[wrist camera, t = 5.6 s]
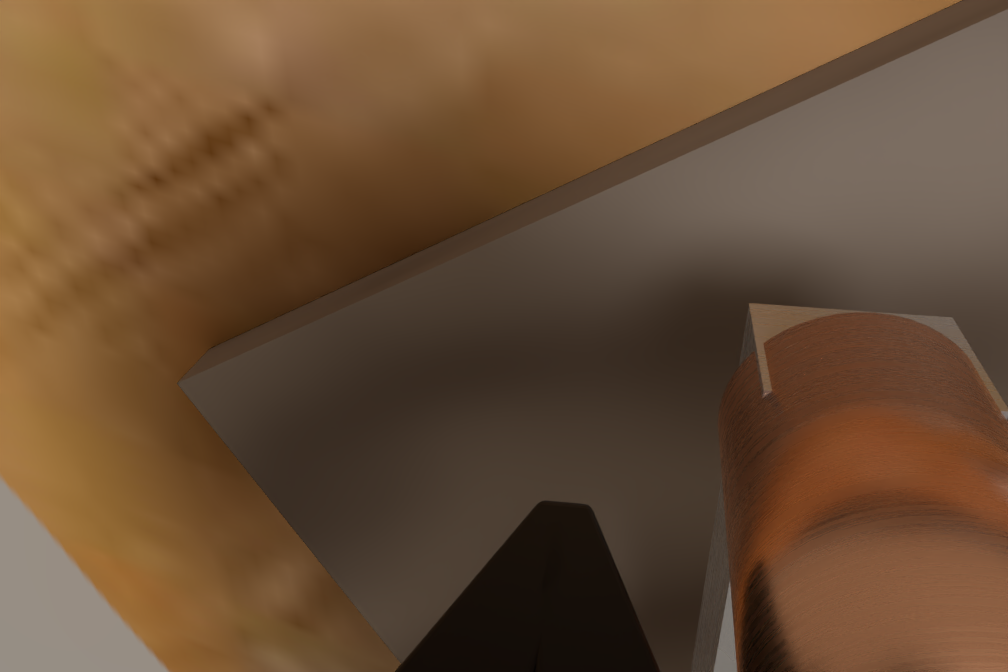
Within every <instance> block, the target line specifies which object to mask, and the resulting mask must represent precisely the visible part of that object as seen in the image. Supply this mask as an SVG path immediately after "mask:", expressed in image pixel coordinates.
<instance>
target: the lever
mask: <svg viewBox="0 0 1008 672" xmlns="http://www.w3.org/2000/svg"><path fill="white" fill-rule="evenodd" d="M1007 418H1008V408H1007V406H1006V405H1005V403H1004V401H1003V400H1002V398H1001V396H1000V395H999V393H998V391H997V390H996V388H995V386H994V385H993V383H992V382H991V380H990V378H989V377H988V375H987V373H986V372H985V370H984V368H983V367H982V365H981V363H980V362H979V360H978V358H977V357H976V355H975V354H974V352H973V350H972V349H971V347H970V345H969V344H968V342H967V340H966V339H965V337H964V335H963V334H962V332H961V331H960V329H959V327H958V326H957V324H956V322H955V321H954V319H953V318H952V317H938V316H924V315H910V314H896V313H882V312H868V311H854V310H840V309H826V308H812V307H798V306H784V305H769V304H755V303H749V306H748V312H747V318H746V325H745V331H744V337H743V344H742V350H741V356H740V363H739V367H738V369H737V370H736V371H735V372H734V374H733V376H732V377H731V379H730V381H729V382H728V384H727V386H726V389H725V391H724V394H723V396H722V399H721V403H720V407H719V413H718V434H719V447H720V459H721V472H722V477H721V483H720V490H719V496H718V502H717V509H716V515H715V521H714V528H713V534H712V541H711V547H710V553H709V560H708V566H707V572H706V579H705V585H704V591H703V598H702V604H701V610H700V617H699V623H698V629H697V636H696V642H695V648H694V655H693V661H692V668H691V672H1008V421H1007Z"/></svg>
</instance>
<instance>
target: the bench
mask: <svg viewBox="0 0 1008 672" xmlns="http://www.w3.org/2000/svg"><path fill="white" fill-rule="evenodd" d="M749 303H755V304H769V305H784V306H798V307H812V308H826V309H840V310H854V311H868V312H882V313H896V314H910V315H924V316H938V317H952V318H953V319H954V321H955V322H956V324H957V326H958V327H959V329H960V331H961V332H962V334H963V335H964V337H965V339H966V340H967V342H968V344H969V345H970V347H971V349H972V350H973V352H974V354H975V355H976V357H977V358H978V360H979V362H980V363H981V365H982V367H983V368H984V370H985V372H986V373H987V375H988V377H989V378H990V380H991V382H992V383H993V385H994V386H995V388H996V390H997V391H998V393H999V395H1000V396H1001V398H1002V400H1003V401H1004V403H1005V405H1006V406H1007V408H1008V0H963V1H961V2H958V3H956V4H954V5H952V6H950V7H948V8H945V9H943V10H941V11H939V12H937V13H935V14H932V15H930V16H928V17H926V18H924V19H922V20H920V21H917V22H915V23H913V24H911V25H909V26H907V27H904V28H902V29H900V30H898V31H896V32H894V33H891V34H889V35H887V36H885V37H883V38H881V39H878V40H876V41H874V42H872V43H870V44H868V45H865V46H863V47H861V48H859V49H857V50H855V51H852V52H850V53H848V54H846V55H844V56H842V57H840V58H837V59H835V60H833V61H831V62H829V63H827V64H824V65H822V66H820V67H818V68H816V69H814V70H811V71H809V72H807V73H805V74H803V75H801V76H798V77H796V78H794V79H792V80H790V81H788V82H785V83H783V84H781V85H779V86H777V87H775V88H773V89H770V90H768V91H766V92H764V93H762V94H760V95H757V96H755V97H753V98H751V99H749V100H747V101H744V102H742V103H740V104H738V105H736V106H734V107H731V108H729V109H727V110H725V111H723V112H721V113H718V114H716V115H714V116H712V117H710V118H708V119H706V120H703V121H701V122H699V123H697V124H695V125H693V126H690V127H688V128H686V129H684V130H682V131H680V132H677V133H675V134H673V135H671V136H669V137H667V138H664V139H662V140H660V141H658V142H656V143H654V144H651V145H649V146H647V147H645V148H643V149H641V150H639V151H636V152H634V153H632V154H630V155H628V156H626V157H623V158H621V159H619V160H617V161H615V162H613V163H610V164H608V165H606V166H604V167H602V168H600V169H597V170H595V171H593V172H591V173H589V174H587V175H584V176H582V177H580V178H578V179H576V180H574V181H572V182H569V183H567V184H565V185H563V186H561V187H559V188H556V189H554V190H552V191H550V192H548V193H546V194H543V195H541V196H539V197H537V198H535V199H533V200H530V201H528V202H526V203H524V204H522V205H520V206H517V207H515V208H513V209H511V210H509V211H507V212H505V213H502V214H500V215H498V216H496V217H494V218H492V219H489V220H487V221H485V222H483V223H481V224H479V225H476V226H474V227H472V228H470V229H468V230H466V231H463V232H461V233H459V234H457V235H455V236H453V237H450V238H448V239H446V240H444V241H442V242H440V243H438V244H435V245H433V246H431V247H429V248H427V249H425V250H422V251H420V252H418V253H416V254H414V255H412V256H409V257H407V258H405V259H403V260H401V261H399V262H396V263H394V264H392V265H390V266H388V267H386V268H383V269H381V270H379V271H377V272H375V273H373V274H371V275H368V276H366V277H364V278H362V279H360V280H358V281H355V282H353V283H351V284H349V285H347V286H345V287H342V288H340V289H338V290H336V291H334V292H332V293H329V294H327V295H325V296H323V297H321V298H319V299H316V300H314V301H312V302H310V303H308V304H306V305H304V306H301V307H299V308H297V309H295V310H293V311H291V312H288V313H286V314H284V315H282V316H280V317H278V318H275V319H273V320H271V321H269V322H267V323H265V324H262V325H260V326H258V327H256V328H254V329H252V330H249V331H247V332H245V333H243V334H241V335H239V336H237V337H234V338H232V339H230V340H228V341H226V342H224V343H221V344H219V345H217V346H215V347H213V348H211V349H209V350H208V351H207V352H206V353H205V354H204V355H203V356H202V357H201V358H200V359H199V360H198V361H197V363H196V364H195V365H194V366H193V367H192V368H191V369H190V370H189V371H188V372H187V373H186V374H185V375H184V376H183V377H182V378H181V379H180V381H179V382H178V383H177V384H178V385H179V387H180V388H181V389H182V390H183V392H184V393H185V394H186V395H187V397H188V398H189V399H190V400H191V402H192V403H193V404H194V405H195V407H196V408H197V409H198V410H199V412H200V413H201V414H202V415H203V417H204V418H205V419H206V420H207V422H208V423H209V424H210V425H211V427H212V428H213V429H214V430H215V432H216V433H217V434H218V435H219V437H220V438H221V439H222V440H223V442H224V443H225V444H226V445H227V447H228V448H229V449H230V450H231V452H232V453H233V454H234V455H235V457H236V458H237V459H238V460H239V462H240V463H241V464H242V465H243V467H244V468H245V469H246V470H247V472H248V473H249V474H250V475H251V477H252V478H253V479H254V480H255V482H256V483H257V484H258V485H259V487H260V488H261V489H262V490H263V492H264V493H265V494H266V495H267V497H268V498H269V499H270V500H271V502H272V503H273V504H274V505H275V507H276V508H277V509H278V510H279V512H280V513H281V514H282V515H283V517H284V518H285V519H286V520H287V522H288V523H289V524H290V525H291V527H292V528H293V529H294V530H295V532H296V533H297V534H298V535H299V537H300V538H301V539H302V540H303V542H304V543H305V544H306V545H307V547H308V548H309V549H310V550H311V552H312V553H313V554H314V555H315V557H316V558H317V559H318V560H319V562H320V563H321V564H322V565H323V567H324V568H325V569H326V570H327V572H328V573H329V574H330V575H331V577H332V578H333V579H334V580H335V582H336V583H337V584H338V585H339V587H340V588H341V589H342V590H343V592H344V593H345V594H346V595H347V597H348V598H349V599H350V600H351V602H352V603H353V604H354V605H355V607H356V608H357V609H358V610H359V612H360V613H361V614H362V615H363V617H364V618H365V619H366V620H367V622H368V623H369V624H370V625H371V627H372V628H373V629H374V630H375V632H376V633H377V634H378V635H379V637H380V638H381V639H382V640H383V642H384V643H385V644H386V645H387V647H388V648H389V649H390V650H391V652H392V653H393V654H394V655H395V657H396V658H397V659H398V660H399V662H400V663H401V664H402V663H403V661H404V660H405V659H406V658H407V657H408V656H409V654H410V653H411V652H412V651H413V650H414V648H415V647H416V646H417V645H418V644H419V643H420V641H421V640H422V639H423V638H424V637H425V635H426V634H427V633H428V632H429V631H430V630H431V628H432V627H433V626H434V625H435V624H436V622H437V621H438V620H439V619H440V618H441V617H442V615H443V614H444V613H445V612H446V611H447V609H448V608H449V607H450V606H451V605H452V604H453V602H454V601H455V600H456V599H457V598H458V597H459V595H460V594H461V593H462V592H463V591H464V589H465V588H466V587H467V586H468V585H469V584H470V582H471V581H472V580H473V579H474V578H475V576H476V575H477V574H478V573H479V572H480V571H481V569H482V568H483V567H484V566H485V565H486V563H487V562H488V561H489V560H490V559H491V558H492V556H493V555H494V554H495V553H496V552H497V550H498V549H499V548H500V547H501V546H502V545H503V543H504V542H505V541H506V540H507V539H508V538H509V536H510V535H511V534H512V533H513V532H514V530H515V529H516V528H517V527H518V526H519V525H520V523H521V522H522V521H523V520H524V519H525V517H526V516H527V515H528V514H529V513H530V512H531V510H532V509H533V508H534V507H535V506H536V505H537V504H538V503H539V502H541V501H545V500H547V501H558V502H569V503H580V504H587V505H589V506H590V507H591V508H592V510H593V511H594V514H595V516H596V518H597V521H598V523H599V525H600V528H601V530H602V533H603V535H604V537H605V540H606V542H607V544H608V547H609V549H610V552H611V554H612V556H613V559H614V561H615V563H616V566H617V568H618V571H619V573H620V575H621V578H622V580H623V582H624V585H625V587H626V590H627V592H628V594H629V597H630V599H631V601H632V604H633V606H634V609H635V611H636V613H637V616H638V618H639V620H640V623H641V625H642V628H643V630H644V632H645V635H646V637H647V639H648V642H649V644H650V647H651V649H652V651H653V654H654V656H655V658H656V661H657V663H658V666H659V668H660V670H661V672H691V668H692V661H693V655H694V648H695V642H696V636H697V629H698V623H699V617H700V610H701V604H702V598H703V591H704V585H705V579H706V572H707V566H708V560H709V553H710V547H711V541H712V534H713V528H714V521H715V515H716V509H717V502H718V496H719V490H720V483H721V477H722V472H721V459H720V447H719V434H718V413H719V407H720V403H721V399H722V396H723V394H724V391H725V389H726V386H727V384H728V382H729V381H730V379H731V377H732V376H733V374H734V372H735V371H736V370H737V369H738V367H739V363H740V356H741V350H742V344H743V337H744V331H745V325H746V318H747V312H748V306H749ZM1007 421H1008V418H1007Z"/></svg>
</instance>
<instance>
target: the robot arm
mask: <svg viewBox="0 0 1008 672" xmlns="http://www.w3.org/2000/svg"><path fill="white" fill-rule="evenodd" d="M395 672H661V670H660V668H659V666H658V663H657V661H656V658H655V656H654V654H653V651H652V649H651V647H650V644H649V642H648V639H647V637H646V635H645V632H644V630H643V628H642V625H641V623H640V620H639V618H638V616H637V613H636V611H635V609H634V606H633V604H632V601H631V599H630V597H629V594H628V592H627V590H626V587H625V585H624V582H623V580H622V578H621V575H620V573H619V571H618V568H617V566H616V563H615V561H614V559H613V556H612V554H611V552H610V549H609V547H608V544H607V542H606V540H605V537H604V535H603V533H602V530H601V528H600V525H599V523H598V521H597V518H596V516H595V514H594V511H593V510H592V508H591V507H590V506H589V505H587V504H580V503H569V502H558V501H547V500H545V501H541V502H539V503H538V504H537V505H536V506H535V507H534V508H533V509H532V510H531V512H530V513H529V514H528V515H527V516H526V517H525V519H524V520H523V521H522V522H521V523H520V525H519V526H518V527H517V528H516V529H515V530H514V532H513V533H512V534H511V535H510V536H509V538H508V539H507V540H506V541H505V542H504V543H503V545H502V546H501V547H500V548H499V549H498V550H497V552H496V553H495V554H494V555H493V556H492V558H491V559H490V560H489V561H488V562H487V563H486V565H485V566H484V567H483V568H482V569H481V571H480V572H479V573H478V574H477V575H476V576H475V578H474V579H473V580H472V581H471V582H470V584H469V585H468V586H467V587H466V588H465V589H464V591H463V592H462V593H461V594H460V595H459V597H458V598H457V599H456V600H455V601H454V602H453V604H452V605H451V606H450V607H449V608H448V609H447V611H446V612H445V613H444V614H443V615H442V617H441V618H440V619H439V620H438V621H437V622H436V624H435V625H434V626H433V627H432V628H431V630H430V631H429V632H428V633H427V634H426V635H425V637H424V638H423V639H422V640H421V641H420V643H419V644H418V645H417V646H416V647H415V648H414V650H413V651H412V652H411V653H410V654H409V656H408V657H407V658H406V659H405V660H404V661H403V663H402V664H401V665H400V666H399V667H398V668H397V670H396V671H395Z"/></svg>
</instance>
